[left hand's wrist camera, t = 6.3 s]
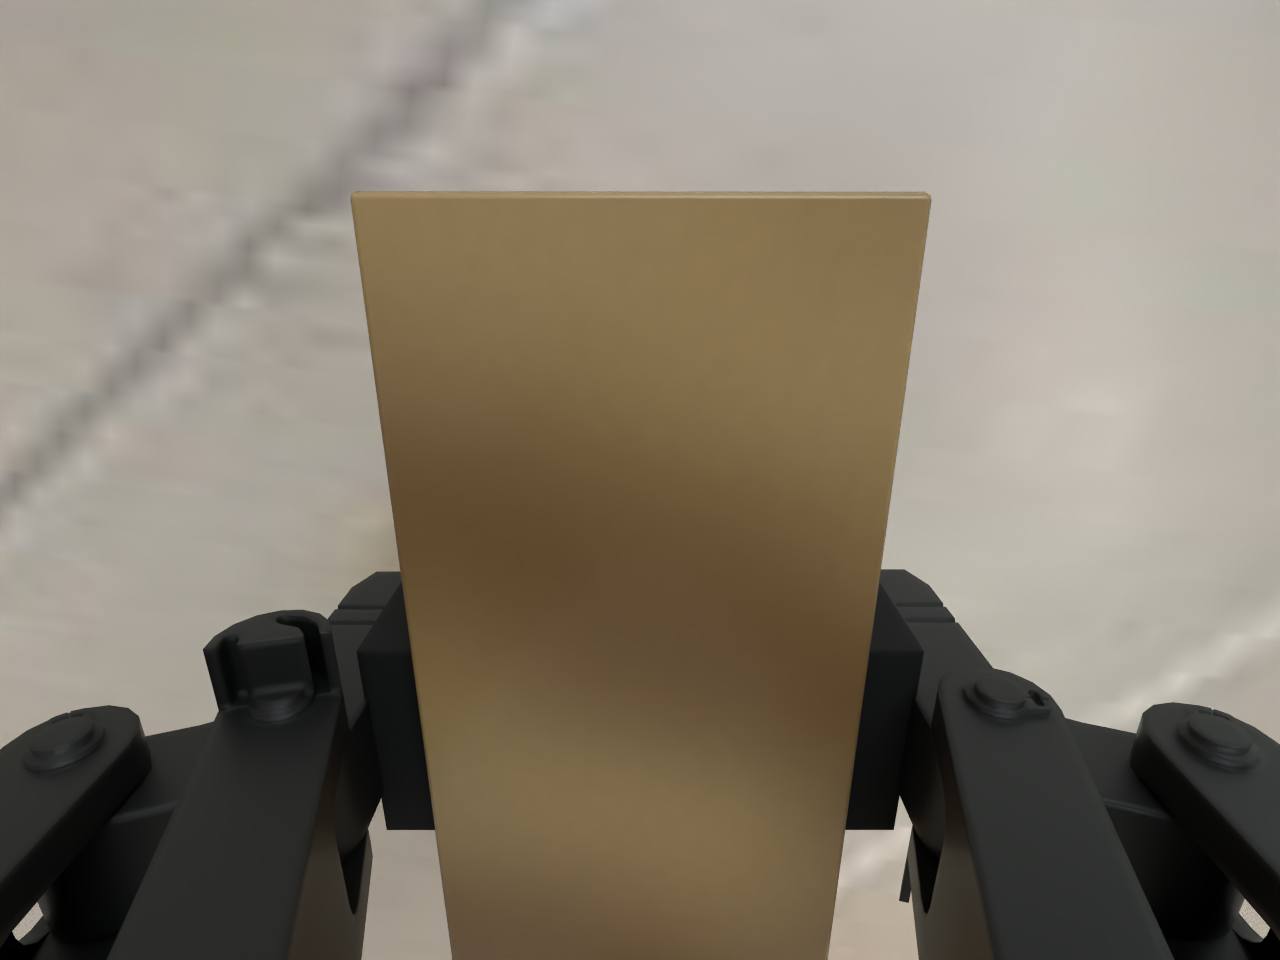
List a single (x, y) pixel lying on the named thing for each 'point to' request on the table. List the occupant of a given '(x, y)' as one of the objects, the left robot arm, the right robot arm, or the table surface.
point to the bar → (640, 548)
